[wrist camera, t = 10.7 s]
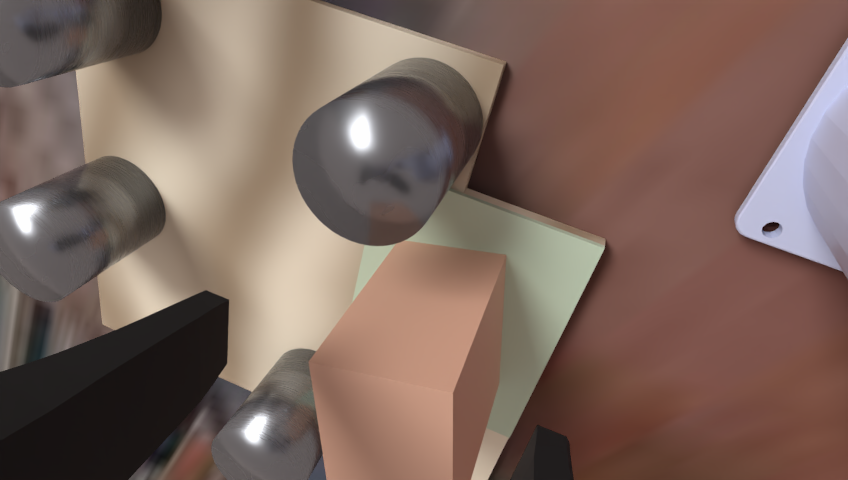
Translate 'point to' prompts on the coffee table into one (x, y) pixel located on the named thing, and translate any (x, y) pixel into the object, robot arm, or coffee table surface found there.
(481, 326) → the terracotta block
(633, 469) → the coffee table surface
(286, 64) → the course board
